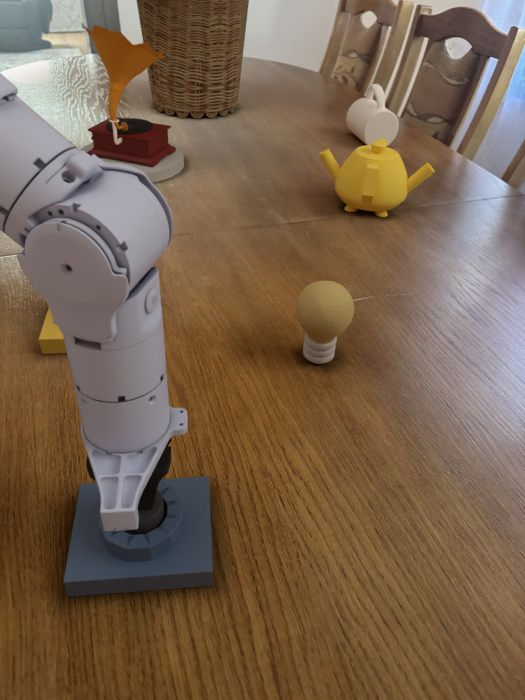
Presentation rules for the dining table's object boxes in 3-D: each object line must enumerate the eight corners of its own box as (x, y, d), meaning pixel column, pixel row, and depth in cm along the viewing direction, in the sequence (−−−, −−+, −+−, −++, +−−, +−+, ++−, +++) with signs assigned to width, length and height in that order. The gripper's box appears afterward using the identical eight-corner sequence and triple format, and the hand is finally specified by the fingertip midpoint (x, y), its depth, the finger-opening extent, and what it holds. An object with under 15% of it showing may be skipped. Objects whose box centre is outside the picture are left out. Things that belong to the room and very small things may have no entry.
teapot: (426, 195, 106) (441, 134, 99) (421, 236, 92) (438, 170, 85) (322, 178, 109) (329, 119, 102) (303, 216, 96) (309, 151, 89)
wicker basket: (141, 84, 157) (129, -64, 136) (266, 92, 157) (273, -54, 136) (109, 123, 129) (89, -54, 108) (261, 132, 129) (269, -43, 108)
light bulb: (282, 345, 68) (289, 274, 62) (330, 336, 70) (341, 266, 64) (304, 379, 63) (313, 306, 57) (354, 368, 65) (368, 296, 59)
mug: (361, 150, 123) (370, 92, 116) (343, 134, 131) (351, 79, 123) (395, 148, 125) (406, 91, 118) (375, 133, 133) (385, 78, 125)
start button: (116, 539, 43) (113, 524, 42) (120, 500, 46) (117, 485, 45) (163, 536, 44) (162, 521, 42) (165, 498, 46) (163, 482, 45)
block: (67, 597, 43) (58, 569, 40) (84, 498, 50) (77, 469, 47) (213, 586, 44) (212, 558, 41) (209, 491, 51) (208, 462, 48)
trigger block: (41, 354, 64) (34, 326, 62) (57, 305, 72) (51, 278, 70) (147, 351, 66) (145, 323, 63) (151, 303, 74) (149, 277, 71)
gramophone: (154, 192, 101) (142, 35, 85) (56, 173, 105) (27, 20, 90) (200, 155, 116) (198, 16, 100) (113, 140, 121) (97, 5, 105)
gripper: (184, 457, 30) (192, 588, 38) (184, 304, 41) (190, 431, 50) (47, 464, 29) (86, 596, 38) (85, 306, 40) (109, 435, 49)
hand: (139, 503), depth 44 cm, fingers closed, pressing on start button
